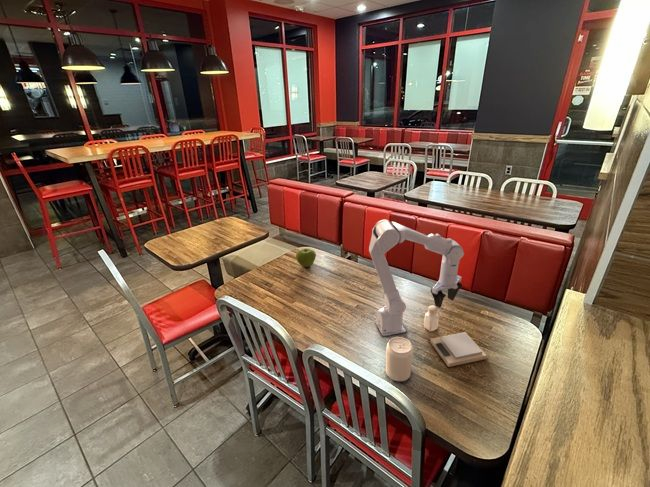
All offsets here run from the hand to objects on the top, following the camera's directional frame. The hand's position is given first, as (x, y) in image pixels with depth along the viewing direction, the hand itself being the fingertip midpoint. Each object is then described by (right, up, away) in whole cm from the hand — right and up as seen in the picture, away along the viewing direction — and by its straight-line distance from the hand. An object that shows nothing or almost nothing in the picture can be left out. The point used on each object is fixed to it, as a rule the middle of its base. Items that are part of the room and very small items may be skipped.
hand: (444, 302), depth 119 cm
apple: (-56, +10, +51) cm, 77 cm away
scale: (+1, -15, -9) cm, 18 cm away
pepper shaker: (-5, -10, +2) cm, 11 cm away
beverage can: (-22, -20, -17) cm, 34 cm away
